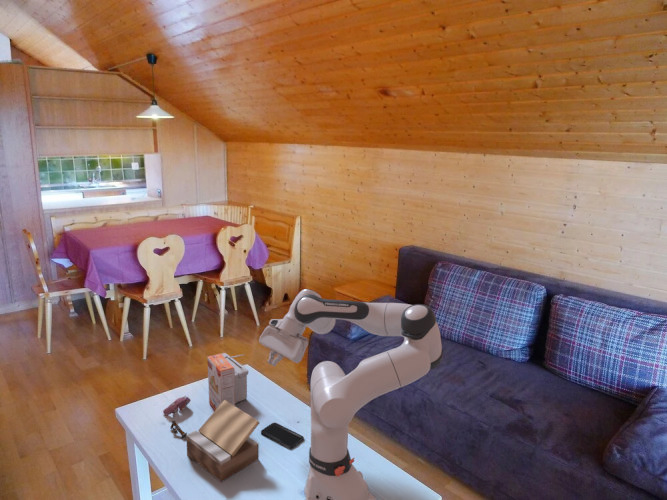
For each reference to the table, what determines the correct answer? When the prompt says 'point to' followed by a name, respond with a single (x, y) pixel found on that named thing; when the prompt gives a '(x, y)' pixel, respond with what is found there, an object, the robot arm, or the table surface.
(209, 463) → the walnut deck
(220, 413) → the oak plank
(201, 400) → the table surface
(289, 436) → the phone
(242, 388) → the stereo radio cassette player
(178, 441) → the table surface
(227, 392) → the cracker box
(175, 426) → the wooden post with brackets
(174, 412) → the video game controller
